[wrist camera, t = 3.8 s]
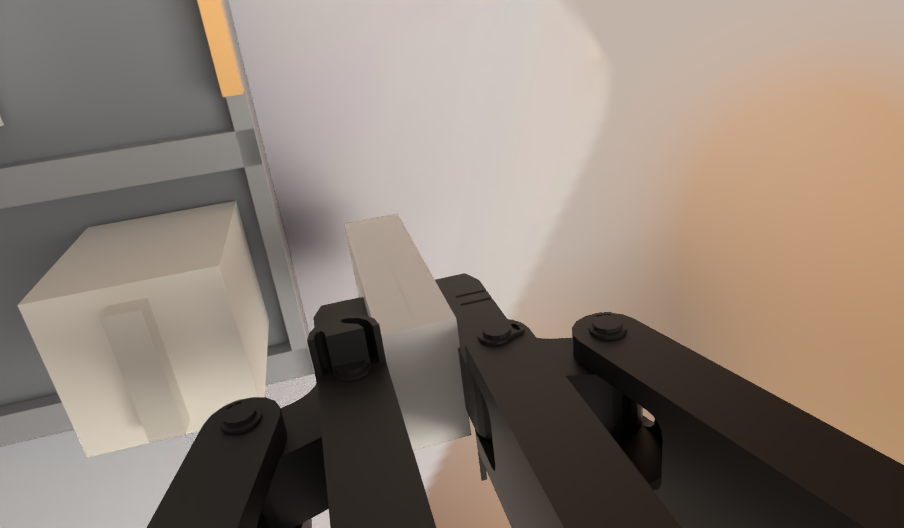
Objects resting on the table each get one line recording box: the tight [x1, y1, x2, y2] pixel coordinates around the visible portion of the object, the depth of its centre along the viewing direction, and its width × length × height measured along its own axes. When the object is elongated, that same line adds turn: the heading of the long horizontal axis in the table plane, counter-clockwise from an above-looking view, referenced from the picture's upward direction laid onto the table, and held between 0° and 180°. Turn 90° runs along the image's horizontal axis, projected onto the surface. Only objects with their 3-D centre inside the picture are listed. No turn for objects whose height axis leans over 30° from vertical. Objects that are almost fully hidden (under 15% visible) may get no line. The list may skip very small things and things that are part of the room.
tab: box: [17, 201, 269, 458], centre depth 16 cm, size 4×4×6 cm
